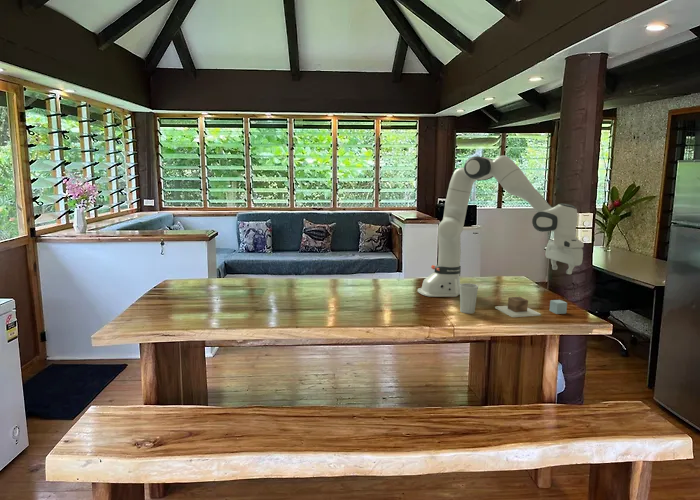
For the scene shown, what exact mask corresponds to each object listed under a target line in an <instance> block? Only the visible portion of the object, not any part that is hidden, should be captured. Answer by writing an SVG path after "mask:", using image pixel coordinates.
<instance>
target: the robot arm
mask: <svg viewBox="0 0 700 500" xmlns="http://www.w3.org/2000/svg"><path fill="white" fill-rule="evenodd" d="M463 165H464V166H463V167H459V168H458V167H457V168H456V169H455V170H454V171H453V173H452V175H451V178H450V181H449V184H448V189H447V194H446V198H445V202H444V209H443V217H442V220H441V221H440V222H439V224H438V228H437V241H438V243H437V244H438V259H437V264H436V265H434V264H432V265H431V267H430V268H431V269H432V270H434V271H433V272H432V273H431V274H429V275H428V276H427V277H425V278H424V279H423V280H422V284H421V285H422V286H421V287H419V288H417V293H419V294H421V295H423V296H425V297H430V298H431V297H432V298H433V297H436V298H437V297H443V298H444V297H454V298H455V297H458V296H460V284H461V278H460V276H461V269H462V267H461V253H462V252H461V250H462V249H461V236H462V235H461V233H463V229H464V225H465V220H466V216H467V210H468V205H469V202H470V197H471V193H472V189H473V184H475V182H476V181H477V182H479V181H487V180H491V179H492V178H494V179H495V180H496V181H497V182H498V184H499V185H500V186H501V188H503V190H504V191H505V192H507V193H508V194H510V195H511V196H514V197H518V198H520V199H523V200H525V201H526V202H527V203H528V204H529V205H530V206H531V207H532V209H534V211H535V212H536V213H535V214H534V215H533V217H532V221H531V223H532V226H533V228H534V229H535V230H536V231H538V232H541V233H546V232H547V233H548V232H553V238H550V239H549V240H548V242H547V244H546V248H545V258H546V259H549V260H550V263H551V265H552V266H551V269H552V270H554V271H557V270H558V266H559V265H557V262H561V263H563V264H567V265H568V269H566V271H565V274H566V275H572V273H573V270H574V268H575V267H576V266H577V267H579V266H581V265H582V263H583V258H584V249H583V248H584V246H585V244H584V242H583V241H581V240H580V239H579V238H577V237H576V236H577V233H576V228H577V225H578V210H577V207H576V206H574V205H573V204H568V203H564V202H563V203H562V202H561V203H558V204H557V205H555V206H552V205H551V204H550V203H549V202H548V201H547V200H546V199H545V198H544V196H542V195H541V193H540V192H539V191H538V190H537V189H536V188H535V187H534V185H533V184H532V182H530V180H529V179H528V178H527V175H526V174H525V173H524V172H523V170H522V169H521V168H520V167H519V166H518V165H517V164H516V163H515V162H514V161H513V160H512V159H511V158H510V157H509V156H507V155H500V156H499V155H498V156H497V157H495V158H494V159H493V158H490V157H486V156H478V155H477V156H476V155H475V156H471V157H469V158H468V159H467V160H466V161H465V163H464V164H463Z"/></svg>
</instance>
